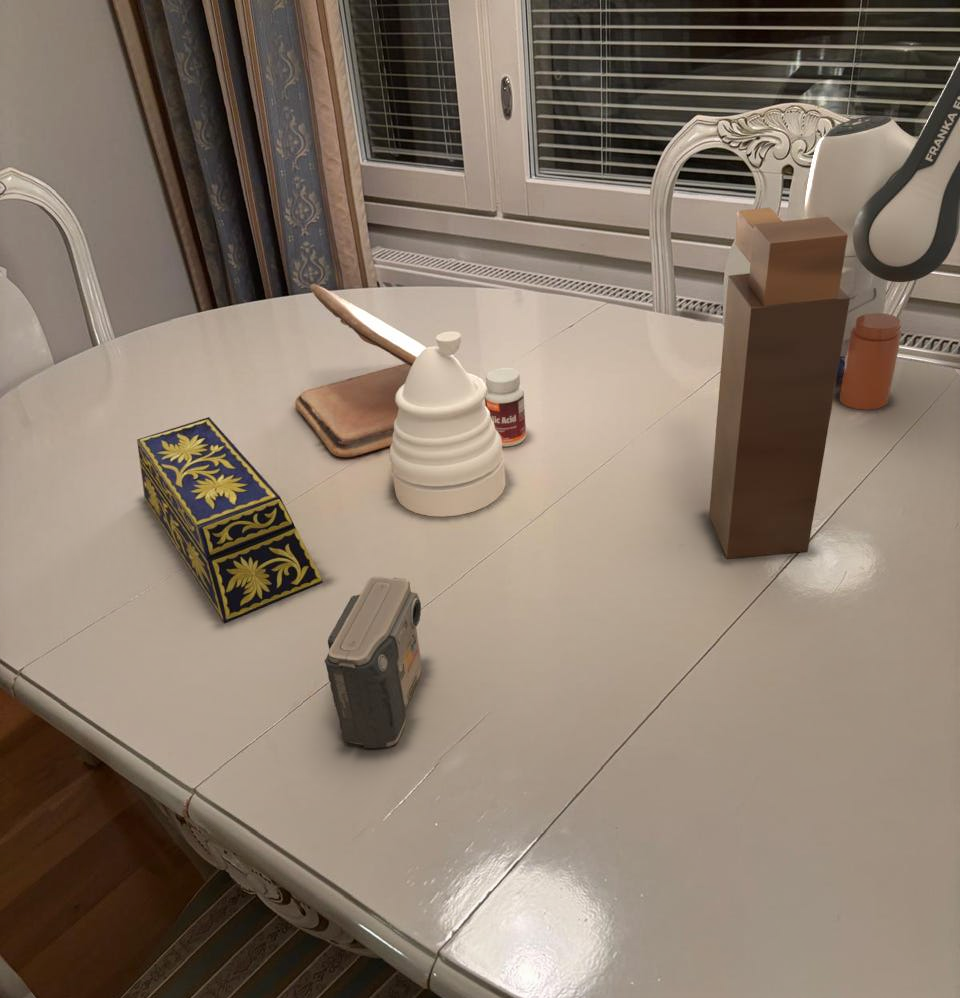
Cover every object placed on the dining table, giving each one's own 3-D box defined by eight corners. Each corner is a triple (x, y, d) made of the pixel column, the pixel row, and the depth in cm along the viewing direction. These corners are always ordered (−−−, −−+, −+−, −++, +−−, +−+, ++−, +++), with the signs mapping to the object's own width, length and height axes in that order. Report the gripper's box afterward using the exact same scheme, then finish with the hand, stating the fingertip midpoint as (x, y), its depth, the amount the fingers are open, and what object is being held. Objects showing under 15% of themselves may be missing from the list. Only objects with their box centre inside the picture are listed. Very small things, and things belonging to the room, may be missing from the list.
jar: (896, 397, 113) (913, 317, 106) (872, 414, 110) (888, 333, 104) (854, 385, 116) (868, 308, 110) (830, 401, 113) (843, 323, 107)
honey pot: (520, 464, 109) (509, 314, 97) (483, 522, 100) (467, 364, 88) (421, 454, 113) (399, 309, 101) (377, 509, 104) (348, 357, 92)
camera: (395, 756, 74) (374, 664, 68) (330, 746, 76) (304, 655, 69) (437, 663, 82) (423, 574, 76) (378, 656, 84) (359, 568, 78)
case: (490, 419, 118) (479, 294, 108) (338, 465, 112) (310, 338, 102) (429, 366, 133) (414, 252, 123) (291, 404, 127) (263, 288, 117)
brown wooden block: (718, 245, 87) (722, 189, 84) (782, 239, 86) (789, 182, 83) (763, 306, 74) (770, 242, 71) (838, 299, 74) (848, 234, 71)
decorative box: (224, 623, 90) (198, 547, 84) (144, 498, 111) (119, 431, 105) (324, 582, 94) (305, 507, 88) (229, 469, 114) (208, 403, 109)
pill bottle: (484, 447, 113) (478, 382, 107) (493, 428, 116) (487, 365, 111) (522, 448, 112) (517, 383, 106) (529, 429, 115) (526, 366, 110)
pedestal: (708, 515, 97) (728, 275, 81) (785, 508, 96) (819, 265, 80) (726, 559, 90) (751, 307, 74) (808, 551, 90) (850, 297, 74)
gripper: (863, 242, 117) (845, 346, 126) (759, 289, 108) (748, 398, 117) (908, 251, 113) (887, 358, 122) (804, 300, 104) (790, 412, 113)
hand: (818, 378), depth 119 cm, fingers closed on lid, 6 cm apart
